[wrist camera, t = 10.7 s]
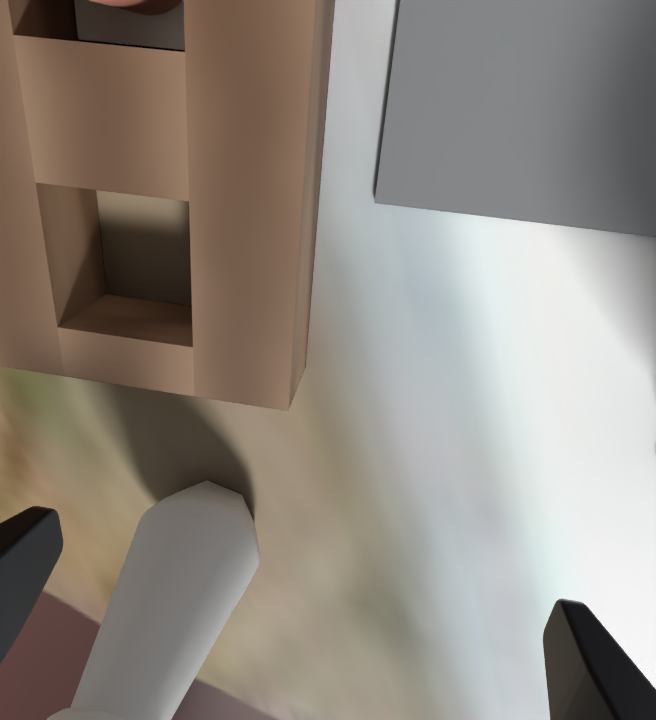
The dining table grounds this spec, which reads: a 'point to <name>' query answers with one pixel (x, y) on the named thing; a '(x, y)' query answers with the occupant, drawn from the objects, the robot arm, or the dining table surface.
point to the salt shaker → (168, 605)
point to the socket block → (163, 188)
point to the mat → (524, 112)
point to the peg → (142, 5)
